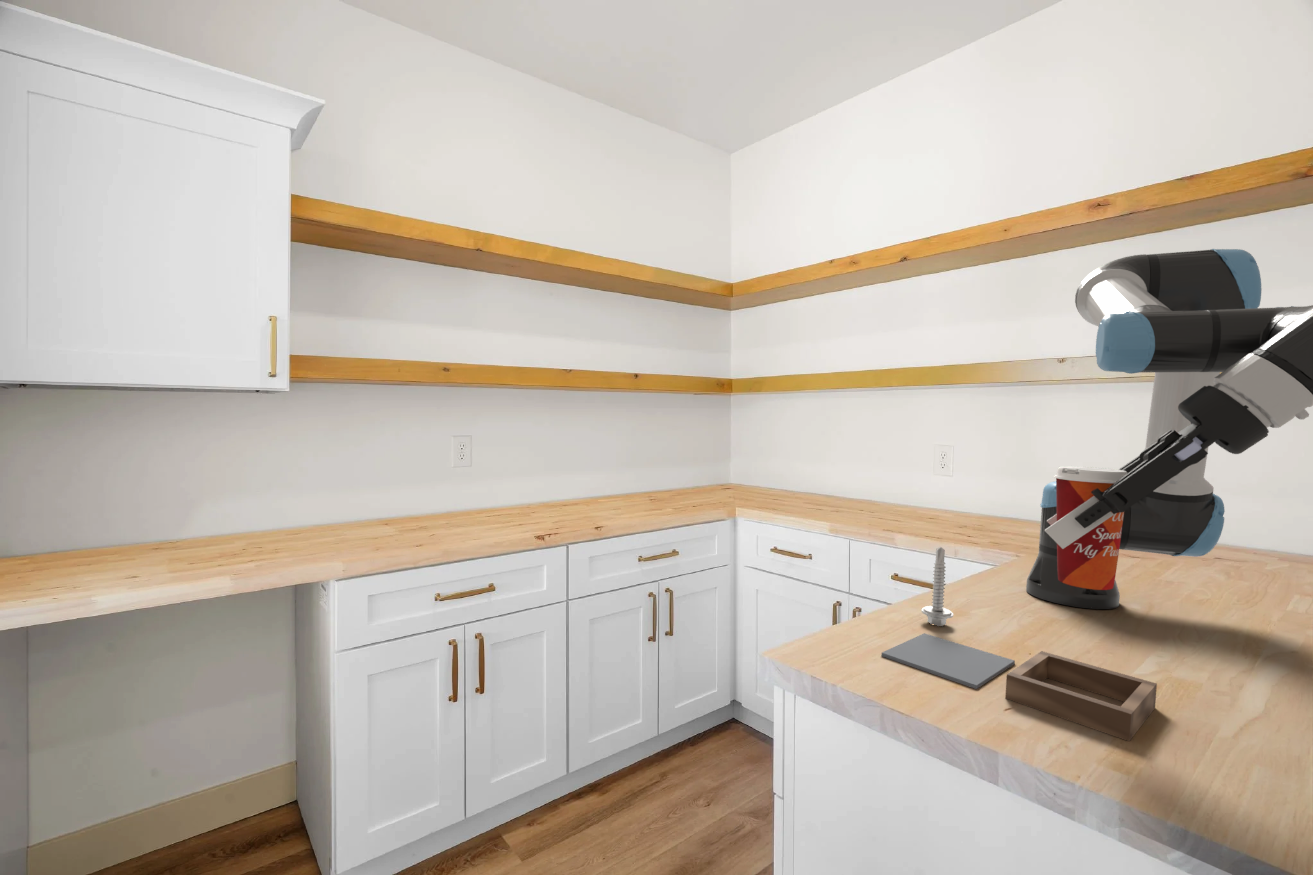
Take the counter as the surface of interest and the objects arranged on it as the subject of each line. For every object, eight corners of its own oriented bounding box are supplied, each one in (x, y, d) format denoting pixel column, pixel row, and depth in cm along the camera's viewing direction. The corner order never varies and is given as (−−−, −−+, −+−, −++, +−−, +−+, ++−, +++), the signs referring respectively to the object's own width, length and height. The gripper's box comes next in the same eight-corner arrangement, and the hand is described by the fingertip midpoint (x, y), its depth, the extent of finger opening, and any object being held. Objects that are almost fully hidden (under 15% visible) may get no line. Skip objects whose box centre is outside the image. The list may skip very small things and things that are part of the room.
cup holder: (1040, 672, 84) (1041, 651, 84) (1155, 707, 75) (1156, 683, 74) (1005, 698, 76) (1006, 674, 76) (1129, 741, 66) (1131, 714, 66)
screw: (958, 626, 102) (941, 631, 99) (931, 617, 106) (914, 621, 103) (962, 548, 101) (945, 551, 99) (935, 542, 105) (918, 545, 103)
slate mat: (924, 636, 96) (924, 633, 96) (1014, 663, 87) (1014, 660, 87) (881, 655, 88) (881, 652, 88) (976, 689, 78) (976, 685, 78)
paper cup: (1090, 594, 70) (1097, 471, 69) (1032, 576, 77) (1038, 465, 77) (1142, 590, 72) (1149, 471, 71) (1080, 573, 79) (1087, 465, 79)
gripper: (1302, 434, 57) (1080, 576, 66) (1249, 430, 74) (1078, 544, 83) (1229, 376, 59) (1025, 521, 69) (1193, 386, 76) (1034, 501, 86)
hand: (1054, 533), depth 76 cm, fingers closed on paper cup, 8 cm apart
